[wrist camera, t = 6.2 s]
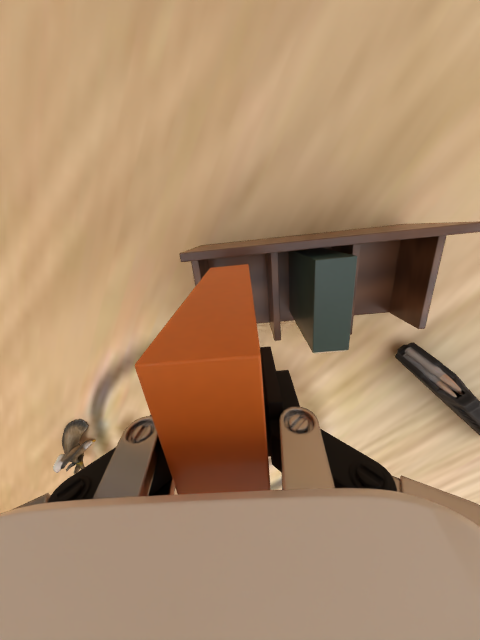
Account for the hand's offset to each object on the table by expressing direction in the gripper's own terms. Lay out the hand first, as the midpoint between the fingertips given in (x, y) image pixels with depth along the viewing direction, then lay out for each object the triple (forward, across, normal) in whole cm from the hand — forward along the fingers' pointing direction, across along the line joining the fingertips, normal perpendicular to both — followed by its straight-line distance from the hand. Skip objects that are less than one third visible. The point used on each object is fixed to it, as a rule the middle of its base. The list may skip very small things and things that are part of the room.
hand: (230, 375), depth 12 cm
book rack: (+22, -9, +1) cm, 24 cm away
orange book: (+8, 0, 0) cm, 8 cm away
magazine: (+22, -34, +23) cm, 46 cm away
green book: (+21, -9, +1) cm, 23 cm away
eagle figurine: (+22, +34, +29) cm, 50 cm away
